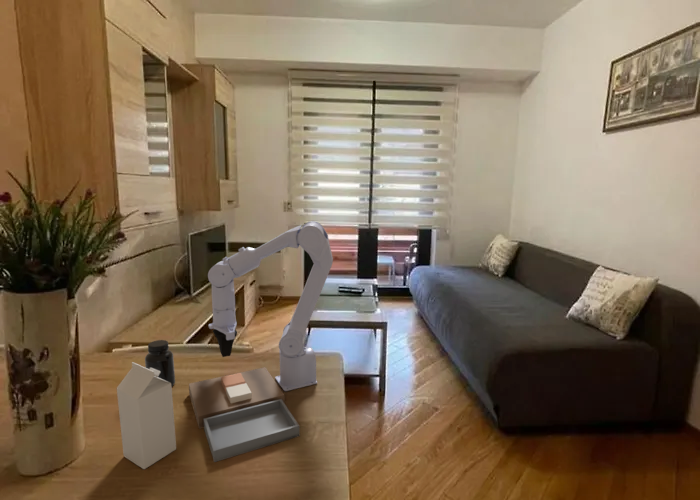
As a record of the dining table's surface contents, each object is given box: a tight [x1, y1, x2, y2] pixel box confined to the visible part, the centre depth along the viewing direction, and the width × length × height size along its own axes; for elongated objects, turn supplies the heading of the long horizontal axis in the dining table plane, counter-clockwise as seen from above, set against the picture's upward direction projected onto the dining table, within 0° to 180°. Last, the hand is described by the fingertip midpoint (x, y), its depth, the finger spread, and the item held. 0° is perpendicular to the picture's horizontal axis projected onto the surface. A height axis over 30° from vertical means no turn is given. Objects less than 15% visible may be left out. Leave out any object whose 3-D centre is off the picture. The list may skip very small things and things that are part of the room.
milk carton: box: [116, 361, 177, 470], centre depth 82 cm, size 7×7×19 cm
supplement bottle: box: [144, 339, 176, 387], centre depth 109 cm, size 7×7×12 cm
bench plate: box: [188, 366, 286, 429], centre depth 104 cm, size 20×16×3 cm
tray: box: [203, 399, 301, 463], centre depth 91 cm, size 18×12×2 cm, turn 118°
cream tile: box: [226, 383, 252, 403], centre depth 100 cm, size 5×5×2 cm
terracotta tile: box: [220, 372, 245, 391], centre depth 105 cm, size 5×5×2 cm
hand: (226, 355), depth 111 cm, fingers closed
